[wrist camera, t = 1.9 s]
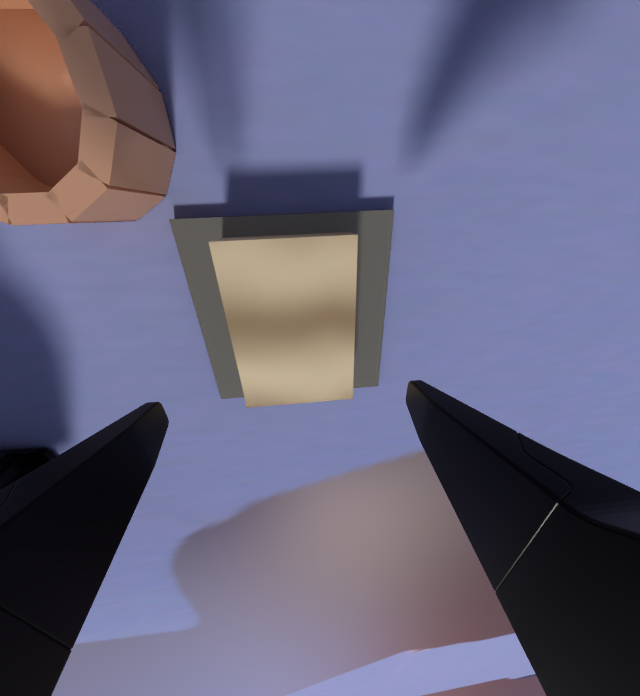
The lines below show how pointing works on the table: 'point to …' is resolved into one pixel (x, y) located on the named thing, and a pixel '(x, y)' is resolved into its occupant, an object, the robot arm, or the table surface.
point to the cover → (290, 314)
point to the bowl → (76, 118)
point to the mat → (366, 224)
